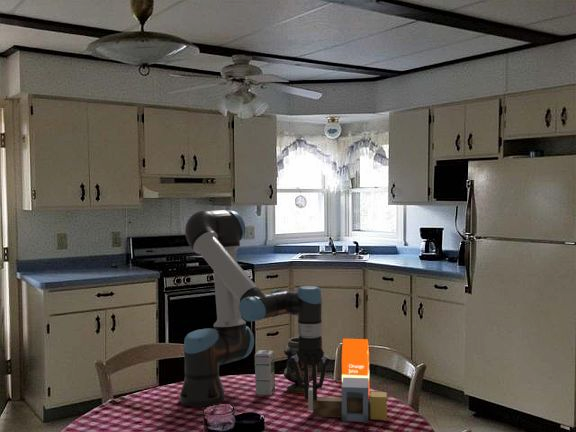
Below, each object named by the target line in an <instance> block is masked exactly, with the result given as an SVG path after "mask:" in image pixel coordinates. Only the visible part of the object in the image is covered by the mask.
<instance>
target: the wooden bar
mask: <svg viewBox="0 0 576 432" xmlns="http://www.w3.org/2000/svg"><path fill="white" fill-rule="evenodd" d="M347 413H363V398H347ZM312 417H329V418H342V397H327V396H325V397H324V396H317V399H316V400H314V399H313V411H312ZM368 419H371V411H370V398H369V399H368Z"/></svg>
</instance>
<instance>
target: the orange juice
mask: <svg viewBox="0 0 576 432" xmlns="http://www.w3.org/2000/svg"><path fill="white" fill-rule="evenodd" d="M369 348H370V347H369V340H368V339H367V338H365V339H364V338H343V339H342V347H341V349H342V351H341V383H342V382H343V378H368V398H369V399H370V352H369V351H370V350H369Z"/></svg>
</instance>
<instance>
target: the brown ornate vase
mask: <svg viewBox="0 0 576 432" xmlns="http://www.w3.org/2000/svg"><path fill="white" fill-rule="evenodd" d="M298 337H299V336H295V337H291V338H289V339H288V343H287V345H286V346H285V347H284V348H283V352H284V355H285V356H286V357H287V359H286V360H287V363H286V367H285V369H284V370H283V376H284V378H285V379H286V380H287V381H288V382H290V383H292V384H290V385H288V386H287V387H286V390H287V391H288V392H289V393H293V394H305V389H304V388H300V387H299V384H298V381H297V377H296V373H295V369H294V365H293V364H292V362H291V361H290V359H291V357H292V356H295V355H296V354H297V352H298ZM298 359H299V357H298ZM298 364H299V368H300V371H301V375H302V379H303V383H304V364H303V363H302V361H301V360H300V359H299V360H298ZM310 382H313V379H312V365H309V388H313V384H312V385H311V384H310Z"/></svg>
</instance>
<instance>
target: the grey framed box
mask: <svg viewBox="0 0 576 432" xmlns="http://www.w3.org/2000/svg"><path fill="white" fill-rule="evenodd" d="M341 398H342V417H341V421H342V422H359V423H360V422H364V423H368V422H369V418H368V399H370V397H369V398H368V378H343V382H342V381H341ZM347 398H363V413H347Z"/></svg>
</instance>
